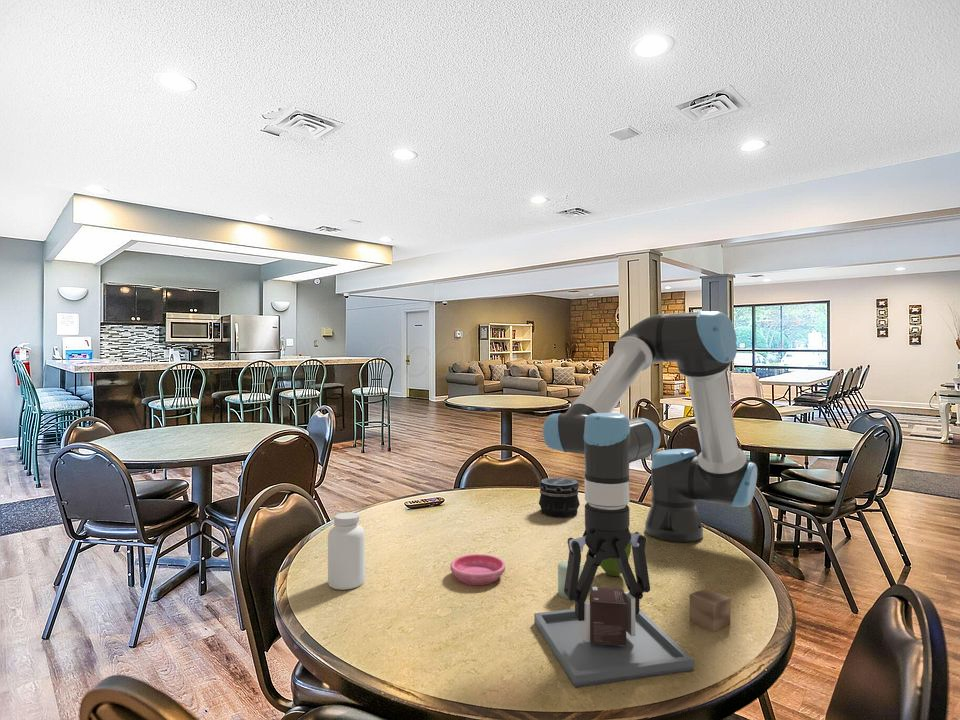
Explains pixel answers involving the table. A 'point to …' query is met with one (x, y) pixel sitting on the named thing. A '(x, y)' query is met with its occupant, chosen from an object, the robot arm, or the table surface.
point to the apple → (614, 563)
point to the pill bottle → (346, 552)
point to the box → (607, 616)
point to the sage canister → (563, 577)
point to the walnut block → (710, 609)
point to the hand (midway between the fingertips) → (607, 634)
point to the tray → (611, 651)
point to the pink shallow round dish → (477, 569)
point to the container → (559, 497)
